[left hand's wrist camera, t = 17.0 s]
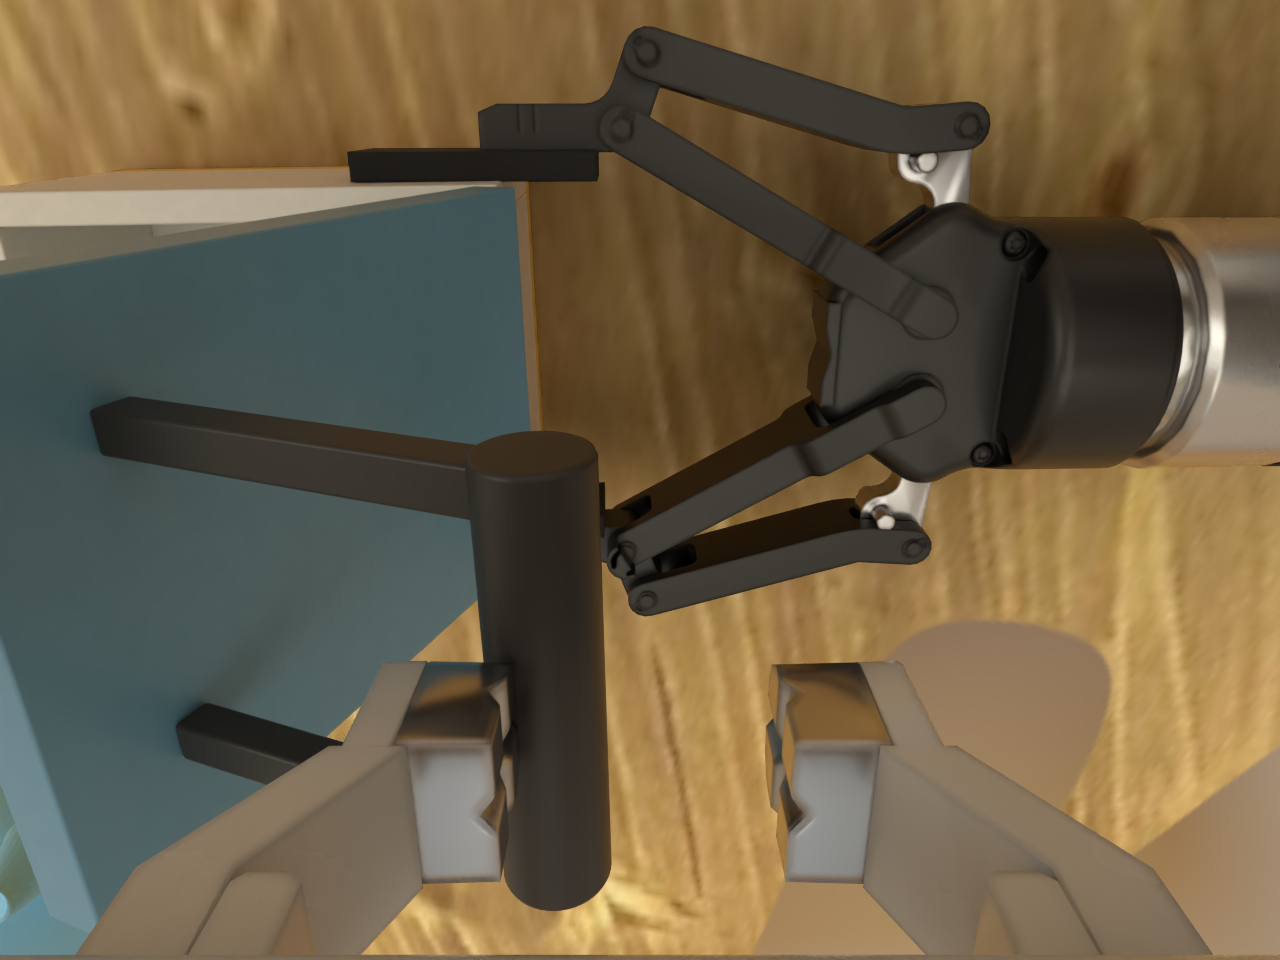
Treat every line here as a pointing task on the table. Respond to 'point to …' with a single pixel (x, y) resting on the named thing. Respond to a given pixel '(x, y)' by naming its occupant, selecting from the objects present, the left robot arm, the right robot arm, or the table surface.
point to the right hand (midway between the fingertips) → (384, 351)
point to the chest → (222, 215)
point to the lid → (281, 527)
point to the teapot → (27, 902)
